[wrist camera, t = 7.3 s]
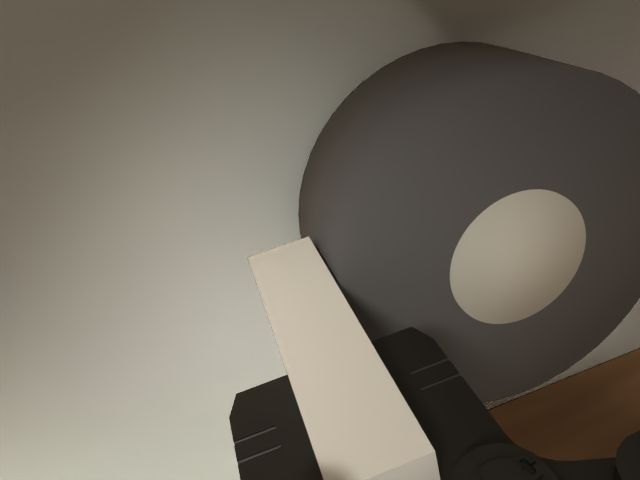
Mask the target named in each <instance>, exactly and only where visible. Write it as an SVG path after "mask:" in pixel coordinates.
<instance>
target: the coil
mask: <svg viewBox="0 0 640 480" xmlns="http://www.w3.org/2000/svg"><path fill="white" fill-rule="evenodd" d="M299 226H300V234H301V239H302V238H305V237H308V236H309V238H310V239H311V241H312V243H313V244H314V246H315V248H316V250H317V251H318V253H319V255H320V256H321V258H322V260H323V261H324V263H325V265H326V267H327V268H328V270H329V272H330V273H331V275H332V277H333V278H334V280H335V282H336V284H337V285H338V287H339V289H340V290H341V292H342V294H343V295H344V297H345V299H346V301H347V302H348V304H349V306H350V307H351V309H352V311H353V312H354V314H355V316H356V318H357V319H358V321H359V323H360V324H361V326H362V328H363V329H364V331H365V333H366V335H367V336H368V338H369V340H370V341H371V342H372V341H374V340H377V339H380V338H382V337H385V336H388V335H390V334H393V333H396V332H398V331H401V330H404V329H406V328H409V327H413V328H415V329H417V330H419V331H421V332H422V333H424V334H426V335H428V336H430V337H431V338H433V339H434V340H435V341H436V343H437V344H438V345H439V347H440V348H441V349H442V350H443V352H444V353H445V354H446V356H447V357H448V360H449V361H451V362H452V364H453V365H454V366H455V368H456V369H457V370H458V372H459V374H460V376H462V377H463V378H464V380H465V381H466V382H467V383H468V385H469V386H470V387H471V389H472V390H473V391H474V393H475V394H476V395H477V397H478V398H479V399H480V401H481V402H482V403H484V402H490V401H494V400H498V399H502V398H506V397H510V396H513V395H515V394H518V393H521V392H524V391H526V390H529V389H531V388H533V387H535V386H537V385H540V384H542V383H544V382H546V381H548V380H550V379H551V378H553V377H555V376H556V375H558V374H560V373H562V372H563V371H565V370H566V369H568V368H569V367H571V366H572V365H574V364H575V363H576V362H578V361H579V360H581V359H582V358H583V357H585V356H586V355H587V354H588V353H589V352H591V351H592V350H593V349H594V348H595V347H597V346H598V345H599V344H600V343H601V342H602V341H603V340H604V339H605V338H606V337H607V336H608V335H609V334H610V333H611V332H612V331H613V330H614V329H615V328H616V327H617V326H618V325H619V323H620V322H621V321H622V320H623V319H624V318H625V316H626V315H627V314H628V313H629V312H630V310H631V309H632V307H633V306H634V305H635V303H636V302H637V301H638V299H639V298H640V95H639V94H638V93H637V92H636V91H635V90H633V89H632V88H630V87H628V86H627V85H625V84H624V83H622V82H621V81H619V80H617V79H614V78H612V77H609V76H607V75H604V74H602V73H599V72H595V71H591V70H587V69H584V68H580V67H576V66H572V65H568V64H564V63H561V62H557V61H553V60H549V59H545V58H541V57H538V56H534V55H530V54H526V53H522V52H519V51H515V50H511V49H507V48H503V47H499V46H495V45H490V44H485V43H477V42H455V43H446V44H439V45H435V46H431V47H427V48H424V49H420V50H418V51H415V52H413V53H410V54H408V55H405V56H403V57H400V58H399V59H397V60H395V61H393V62H392V63H390V64H388V65H386V66H385V67H383V68H381V69H380V70H378V71H377V72H376V73H374V74H373V75H372V76H370V77H369V78H368V79H366V80H365V81H364V82H362V83H361V84H360V85H359V86H358V87H357V88H356V89H355V90H354V91H353V92H352V93H351V94H350V95H349V96H348V97H347V98H346V99H345V100H344V101H343V102H342V104H341V105H340V106H339V107H338V109H337V110H336V111H335V112H334V113H333V115H332V116H331V118H330V119H329V121H328V122H327V124H326V125H325V127H324V129H323V130H322V132H321V133H320V135H319V137H318V139H317V141H316V143H315V145H314V147H313V150H312V152H311V154H310V157H309V160H308V163H307V166H306V169H305V172H304V175H303V180H302V185H301V190H300V197H299Z"/></svg>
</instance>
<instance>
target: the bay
mask: <svg viewBox="0 0 640 480" xmlns="http://www.w3.org/2000/svg"><path fill="white" fill-rule="evenodd" d="M488 411H489V413H490V414H491V415H492V416H493V418H494V419H495V420H496V422H497V423H498V424H499V426H500V427H501V428H502V430H503V431H504V432H505V434H506V435H507V436H508V437H509V438H510V439H511V440H512V441H513V442H514V443H515V444H517V445H518V446H520V447H522V448H524V449H526V450H529V451H531V452H533V453H534V454H536V455H537V456H539V457H542V458H547V459H552V460H557V461H576V460H588V459H600V458H612V457H616V452H617V448H618V447H619V446H620V444H621V443H622V442H623V440H624V439H625V438H626V437H627V436H629V435H631V434H633V433H635V432H637V431H639V430H640V349H637V350H635V351H632V352H630V353H628V354H625V355H623V356H620V357H618V358H615V359H613V360H610V361H608V362H605V363H603V364H601V365H598V366H596V367H593V368H591V369H588V370H586V371H583V372H581V373H579V374H576V375H574V376H571V377H569V378H566V379H564V380H561V381H559V382H557V383H554V384H552V385H549V386H547V387H544V388H542V389H539V390H537V391H535V392H532V393H530V394H527V395H525V396H522V397H520V398H517V399H515V400H513V401H510V402H508V403H505V404H503V405H500V406H498V407H495V408H493V409H491V410H488Z"/></svg>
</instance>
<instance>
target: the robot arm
mask: <svg viewBox="0 0 640 480" xmlns="http://www.w3.org/2000/svg"><path fill="white" fill-rule="evenodd" d="M248 260H249V263H250V266H251V269H252V272H253V275H254V278H255V281H256V284H257V287H258V289H259V292H260V295H261V298H262V301H263V304H264V307H265V310H266V313H267V316H268V319H269V322H270V324H271V327H272V330H273V333H274V336H275V339H276V342H277V345H278V348H279V351H280V354H281V357H282V360H283V362H284V365H285V368H286V371H287V374H288V375H286V376H283V377H280V378H278V379H275V380H272V381H270V382H267V383H264V384H261V385H259V386H256V387H253V388H251V389H248V390H245V391H243V392H240V393H237V394H236V397H235V400H234V404H233V407H232V410H231V414H230V417H229V419H230V424H231V430H232V435H233V441H234V444H235V452H236V457H237V462H238V468H239V473H240V479H241V480H640V430H639V431H637V432H635V433H633V434H631V435H629V436H627V437H626V438H625V439H624V440H623V442H622V443H621V444H620V446H619V447H618V448H617V452H616V457H612V458H600V459H588V460H576V461H557V460H552V459H547V458H542V457H539V456H537V455H536V454H534V453H533V452H531V451H529V450H526V449H524V448H522V447H520V446H518V445H517V444H515V443H514V442H513V441H512V440H511V439H510V438H509V437H508V436H507V435H506V434H505V432H504V431H503V430H502V428H501V427H500V426H499V424H498V423H497V422H496V420H495V419H494V418H493V416H492V415H491V414H490V413H489V411H488V410H487V409H486V407H485V406H484V405H483V403H482V402H481V401H480V399H479V398H478V397H477V395H476V394H475V393H474V391H473V390H472V389H471V387H470V386H469V385H468V383H467V382H466V381H465V380H464V378H463V377H462V376H460V374H459V372H458V370H457V369H456V368H455V366H454V365H453V364H452V362H451V361H449V360H448V357H447V356H446V354H445V353H444V352H443V350H442V349H441V348H440V347H439V345H438V344H437V343H436V341H435V340H434V339H433V338H431V337H430V336H428V335H426V334H424V333H422V332H421V331H419V330H417V329H415V328H413V327H409V328H406V329H404V330H401V331H398V332H396V333H393V334H390V335H388V336H385V337H382V338H380V339H377V340H374V341H372V342H371V341H370V340H369V338H368V336H367V335H366V333H365V331H364V329H363V328H362V326H361V324H360V323H359V321H358V319H357V318H356V316H355V314H354V312H353V311H352V309H351V307H350V306H349V304H348V302H347V301H346V299H345V297H344V295H343V294H342V292H341V290H340V289H339V287H338V285H337V284H336V282H335V280H334V278H333V277H332V275H331V273H330V272H329V270H328V268H327V267H326V265H325V263H324V261H323V260H322V258H321V256H320V255H319V253H318V251H317V250H316V248H315V246H314V244H313V243H312V241H311V239H310V238H309V236H308V237H305V238H302V239H299V240H296V241H294V242H291V243H288V244H285V245H282V246H279V247H276V248H273V249H270V250H267V251H264V252H261V253H258V254H255V255H253V256H250V257H248Z"/></svg>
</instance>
